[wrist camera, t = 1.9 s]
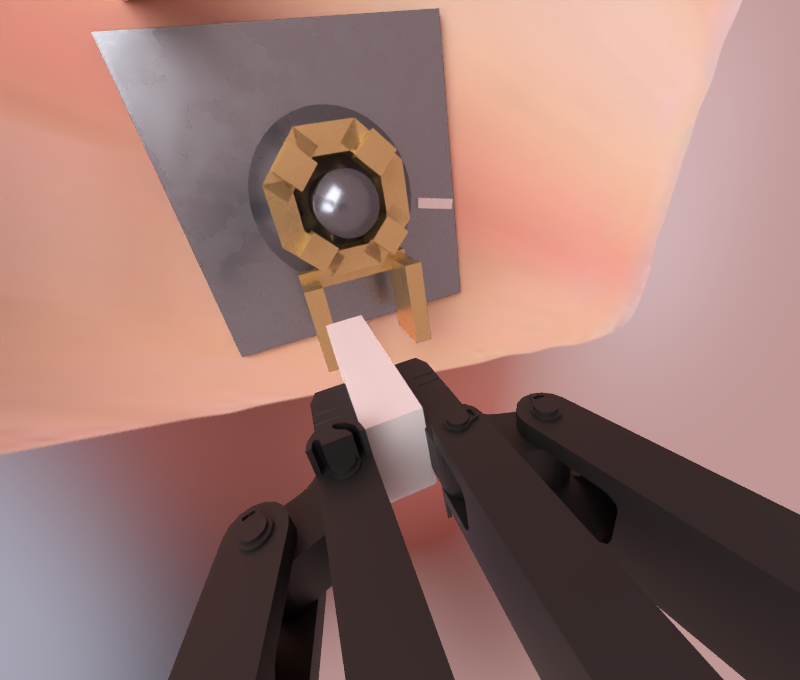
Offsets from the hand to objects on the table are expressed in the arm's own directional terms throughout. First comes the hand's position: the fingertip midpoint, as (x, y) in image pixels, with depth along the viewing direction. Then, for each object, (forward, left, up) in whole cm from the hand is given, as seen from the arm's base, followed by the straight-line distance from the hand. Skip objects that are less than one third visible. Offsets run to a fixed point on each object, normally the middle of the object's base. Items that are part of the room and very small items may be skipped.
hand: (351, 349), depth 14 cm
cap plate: (+4, +4, -23) cm, 23 cm away
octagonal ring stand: (+4, +1, -18) cm, 19 cm away
